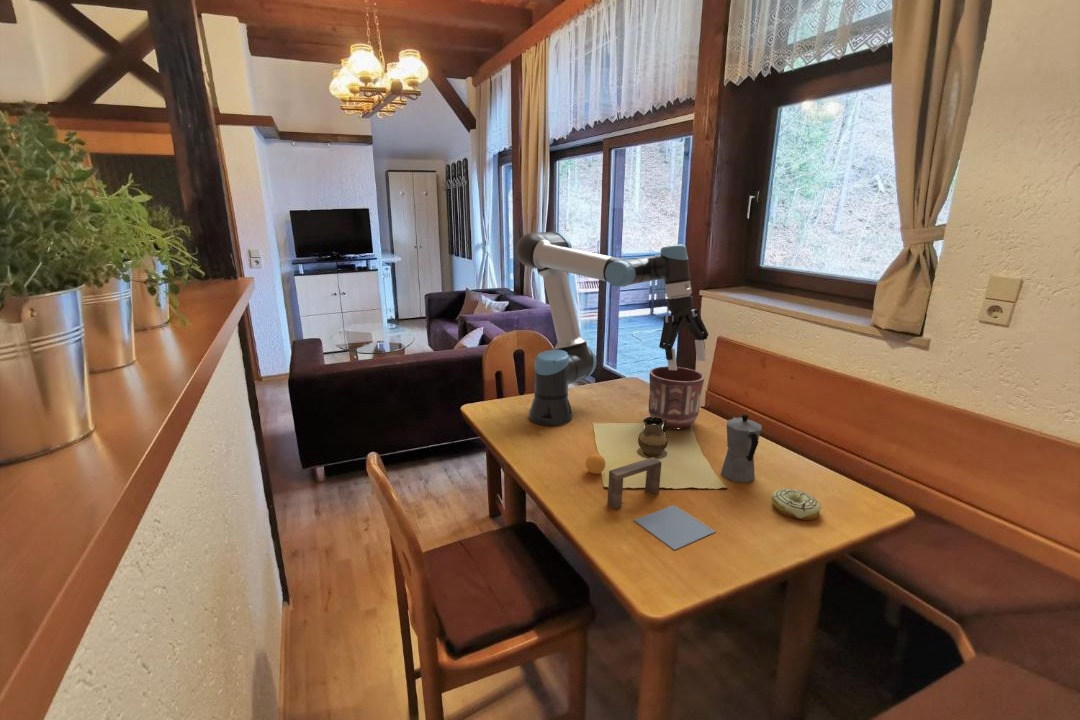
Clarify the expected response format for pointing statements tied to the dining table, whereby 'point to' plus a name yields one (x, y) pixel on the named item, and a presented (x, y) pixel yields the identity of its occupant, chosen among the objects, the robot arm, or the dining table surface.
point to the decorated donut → (796, 504)
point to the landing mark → (674, 527)
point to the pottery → (675, 395)
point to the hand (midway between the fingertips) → (687, 365)
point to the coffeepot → (741, 449)
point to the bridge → (619, 473)
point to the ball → (595, 463)
